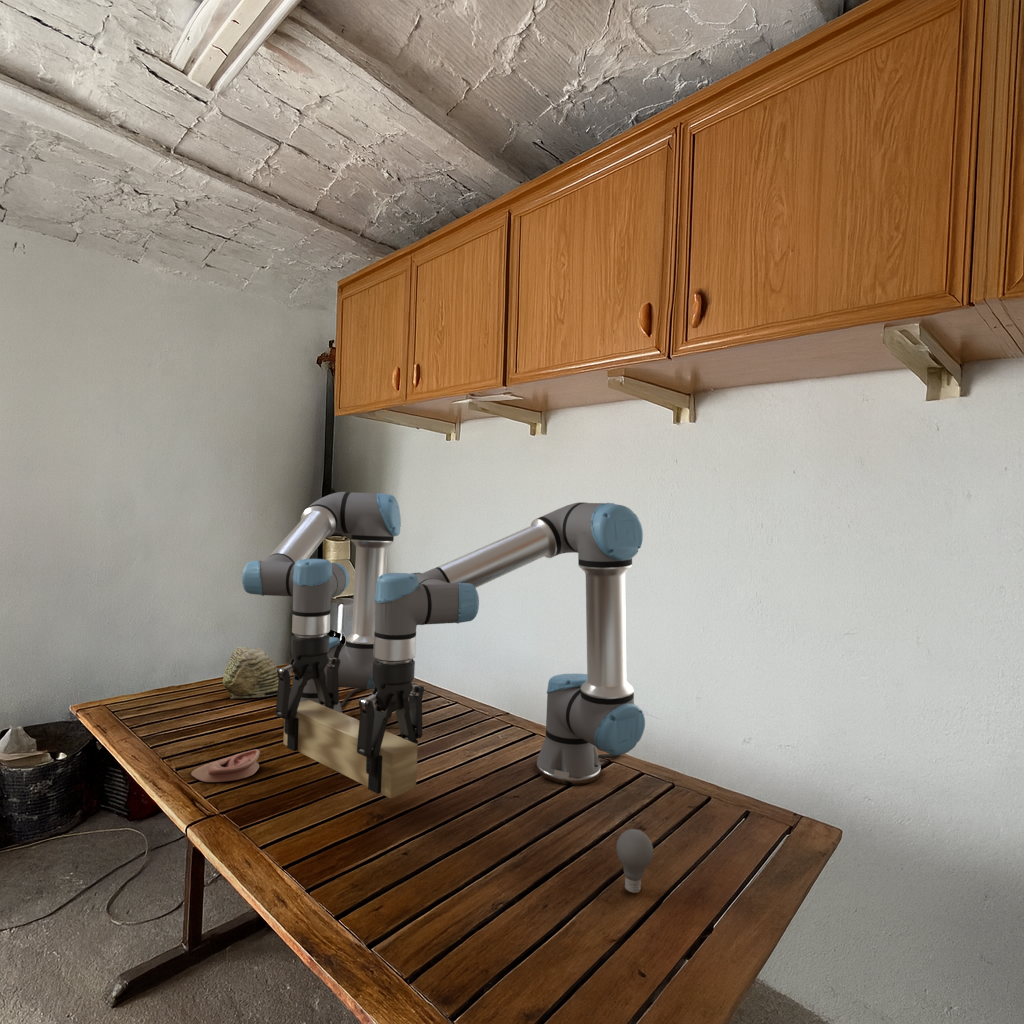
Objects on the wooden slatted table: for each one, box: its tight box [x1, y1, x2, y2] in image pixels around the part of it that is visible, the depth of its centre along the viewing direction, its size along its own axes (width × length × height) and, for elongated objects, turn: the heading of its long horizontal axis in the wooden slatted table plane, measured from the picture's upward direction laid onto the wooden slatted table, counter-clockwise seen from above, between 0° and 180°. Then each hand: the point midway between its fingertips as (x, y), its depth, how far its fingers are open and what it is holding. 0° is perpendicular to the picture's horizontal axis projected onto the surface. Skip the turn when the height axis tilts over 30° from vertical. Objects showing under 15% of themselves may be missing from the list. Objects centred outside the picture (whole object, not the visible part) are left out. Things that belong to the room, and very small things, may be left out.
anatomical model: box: [190, 748, 261, 783], centre depth 143 cm, size 13×4×12 cm
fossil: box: [222, 646, 279, 699], centre depth 198 cm, size 9×18×15 cm, turn 132°
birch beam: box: [282, 700, 419, 799], centre depth 124 cm, size 34×6×8 cm, turn 51°
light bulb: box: [615, 828, 654, 894], centre depth 106 cm, size 6×6×10 cm
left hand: (307, 744), depth 132 cm, fingers closed on birch beam, 6 cm apart
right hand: (389, 784), depth 116 cm, fingers closed on birch beam, 6 cm apart
